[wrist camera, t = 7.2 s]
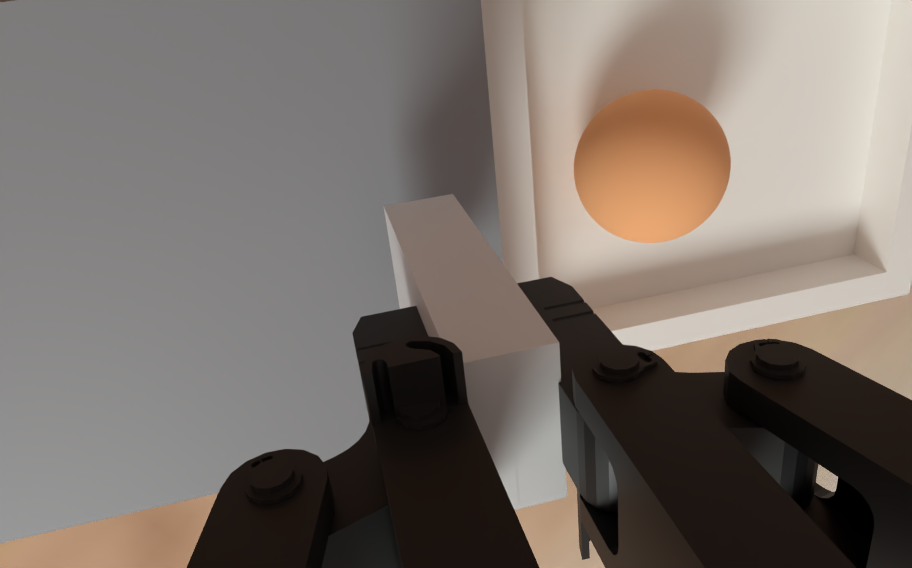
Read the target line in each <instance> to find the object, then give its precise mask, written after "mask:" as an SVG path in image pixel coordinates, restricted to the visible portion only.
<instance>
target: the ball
mask: <svg viewBox="0 0 912 568" xmlns="http://www.w3.org/2000/svg"><path fill="white" fill-rule="evenodd" d="M730 170H731V157H730V149H729V145H728V142H727V138H726V136H725V134H724V131H723V129H722V127H721V126H720V124H719V123H718V121H717V120H716V118H715V117H714V116H713V115H712V114H711V113H710V112H709V111H708V110H707V109H706V108H705V107H704V106H703V105H701V104H700V103H698V102H697V101H695V100H694V99H692V98H690V97H688V96H686V95H683V94H680V93H677V92H673V91H668V90H656V89H653V90H643V91H638V92H634V93H630V94H628V95H625V96H622V97H620V98H618V99H616V100H614V101H613V102H611V103H610V104H608V105H607V106H605V107H604V108H603V109H602V110H601V111H600V112H599V113H597V114H596V115H595V117H594V118H593V119H592V120H591V121H590V122H589V124H588V126H587V127H586V129H585V130H584V132H583V134H582V136H581V138H580V140H579V143H578V146H577V149H576V153H575V158H574V180H575V185H576V189H577V192H578V195H579V198H580V200H581V202H582V204H583V206H584V208H585V209H586V211H587V212H588V213H589V215H590V216H591V217H592V218H593V219H594V220H595V221H596V222H597V223H598V224H599V225H600V226H601V227H603V228H604V229H605V230H606V231H608V232H610V233H612V234H613V235H615V236H618V237H620V238H623V239H626V240H630V241H634V242H640V243H659V242H666V241H669V240H673V239H676V238H679V237H681V236H684V235H686V234H687V233H689V232H691V231H693V230H694V229H696V228H697V227H698V226H700V225H701V224H702V223H703V222H704V221H705V220H707V219H708V218H709V217H710V216H711V214H712V213H713V212H714V211H715V209H716V208H717V207H718V205H719V203H720V202H721V200H722V198H723V196H724V193H725V191H726V189H727V185H728V182H729V177H730Z"/></svg>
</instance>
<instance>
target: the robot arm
mask: <svg viewBox="0 0 912 568" xmlns="http://www.w3.org/2000/svg"><path fill="white" fill-rule="evenodd" d="M384 212H385V218H386V224H387V231H388V237H389V243H390V250H391V256H392V262H393V269H394V275H395V281H396V288H397V294H398V300H399V306H400V309H397V310H392V311H387V312H382V313H377V314H372V315H367V316H362V317H361V318H360V320H359V321H358V323H357V325H356V327H355V329H354V331H353V333H352V334H353V339H354V344H355V350H356V355H357V360H358V365H359V370H360V375H361V380H362V386H363V391H364V396H365V401H366V406H367V411H368V416H369V424H368V426H367V429H366V431H365V433H364V434H363V435H362V437H361V438H360V439H359V440H358V441H357V442H356V443H355V444H354V445H352V446H351V447H350V448H349V449H347V450H346V451H344V452H342V453H340V454H339V455H337V456H335V457H333V458H331V459H329V460H327V461H324V462H323V461H322V460H321V459H320V457H319V456H318V455H315V454H313V453H310V452H308V451H306V450H299V449H282V450H277V451H272V452H267V453H264V454H262V455H259V456H257V457H255V458H253V459H250V460H248V461H246V462H245V463H243V464H242V465H241V466H240V467H238V468H237V469H236V470H234V471H233V472H232V473H231V474H230V475H229V477H228V478H227V479H226V481H225V482H224V484H223V485H222V487H221V488H220V491H219V493H218V495H217V498H216V500H215V502H214V505H213V507H212V509H211V512H210V514H209V516H208V519H207V521H206V524H205V526H204V528H203V531H202V533H201V535H200V538H199V540H198V542H197V545H196V547H195V549H194V552H193V554H192V556H191V559H190V561H189V563H188V566H187V568H539V566H538V564H537V561H536V559H535V557H534V554H533V552H532V550H531V547H530V545H529V543H528V541H527V538H526V536H525V534H524V531H523V529H522V527H521V524H520V522H519V520H518V517H517V515H516V513H515V510H517V509H521V508H525V507H529V506H533V505H537V504H541V503H545V502H549V501H553V500H557V499H561V498H565V497H567V484H566V470H567V471H568V473H569V475H570V477H571V478H572V480H573V482H574V484H575V486H576V487H577V500H578V523H579V546H580V552H581V556H582V560H584V559H588V558H590V557H589V541H590V539H591V541H592V543H593V545H594V547H595V549H596V551H597V553H598V555H599V556H600V558H601V560H602V562H603V564H604V566H605V568H912V400H910V399H908V398H906V397H904V396H902V395H900V394H898V393H896V392H894V391H893V390H891V389H889V388H887V387H885V386H883V385H881V384H879V383H877V382H875V381H873V380H871V379H869V378H867V377H865V376H863V375H861V374H859V373H857V372H855V371H853V370H851V369H850V368H848V367H846V366H844V365H842V364H840V363H838V362H836V361H834V360H832V359H830V358H828V357H826V356H824V355H822V354H820V353H818V352H816V351H814V350H812V349H810V348H807V347H804V346H802V345H799V344H796V343H793V342H787V341H781V340H777V339H768V340H765V339H763V340H754V341H750V342H746V343H742V344H739V345H738V346H736V347H735V348H733V349H732V350H730V351H729V353H728V356H727V358H726V360H725V372H710V373H682V372H674V370H673V369H672V368H671V367H670V366H669V365H668V364H667V363H666V362H665V361H664V360H663V359H662V358H661V357H659V356H658V355H656V354H655V353H654V352H652V351H650V350H647V349H644V348H641V347H638V346H632V345H623V344H622V343H621V342H620V341H619V340H618V339H617V337H616V336H615V335H614V334H613V333H612V332H611V331H610V329H609V328H608V327H607V326H606V325H605V324H604V322H603V321H602V320H601V319H600V318H599V317H598V316H597V314H596V313H595V314H594V313H593V310H592V309H591V308H590V306H589V305H588V304H587V303H586V302H585V303H584V299H583V298H582V297H581V296H580V295H579V294H578V293H577V291H576V290H575V289H574V288H573V287H572V286H570V285H568V284H566V283H564V282H562V281H560V280H557V279H555V278H553V277H547V278H542V279H537V280H532V281H527V282H522V283H516V281H515V280H514V279H513V277H512V276H511V274H510V273H509V272H508V270H507V269H506V267H505V266H504V265H503V263H502V262H501V260H500V259H499V258H498V256H497V255H496V253H495V252H494V251H493V249H492V248H491V246H490V245H489V244H488V242H487V241H486V239H485V238H484V237H483V235H482V234H481V232H480V231H479V230H478V228H477V227H476V226H475V224H474V223H473V221H472V220H471V219H470V217H469V216H468V214H467V213H466V212H465V210H464V209H463V207H462V206H461V205H460V203H459V202H458V200H457V199H456V198H455V196H454V195H453V194H449V195H444V196H438V197H432V198H427V199H421V200H416V201H410V202H404V203H399V204H393V205H387V206H384ZM818 464H819V465H821V466H823V467H824V468H826V469H827V470H829V471H830V472H832V473H833V474H835V475H836V476H838V483H837V489H836V491H835V492H831V491H829V490H827V489H825V488H823V487H821V486H820V485H818V484H817V483H816V476H817V469H818Z"/></svg>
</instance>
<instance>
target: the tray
mask: <svg viewBox="0 0 912 568" xmlns="http://www.w3.org/2000/svg"><path fill="white" fill-rule="evenodd" d="M481 9H482V21H483V33H484V44H485V56H486V68H487V80H488V92H489V103H490V115H491V127H492V139H493V151H494V163H495V174H496V186H497V198H498V210H499V222H500V233H501V245H502V257H503V265H504V266H505V267H506V269H507V270H508V272H509V273H510V274H511V276H512V277H513V279H514V280H515V281H516V283H522V282H527V281H532V280H537V279H542V278H547V277H553V278H555V279H557V280H560V281H562V282H564V283H566V284H568V285H570V286H572V287H573V288H574V289H575V290H576V291H577V293H578V294H579V295H580V296H581V297H582V298H583V299H584V303H585V302H586V303H587V304H588V305H589V306H590V308H591V309H592V310H593V313H594V314H595V313H596V314H597V316H598V317H599V318H600V319H601V320H602V321H603V322H604V324H605V325H606V326H607V327H608V328H609V329H610V331H611V332H612V333H613V334H614V335H615V336H616V337H617V339H618V340H619V341H620V342H621V343H622V344H623V345H632V346H638V347H641V348H644V349H647V350H650V351H653V350H658V349H662V348H667V347H671V346H676V345H680V344H685V343H689V342H694V341H698V340H703V339H707V338H712V337H716V336H721V335H725V334H730V333H734V332H739V331H743V330H748V329H753V328H757V327H762V326H766V325H771V324H775V323H780V322H784V321H789V320H793V319H798V318H802V317H807V316H811V315H816V314H820V313H825V312H829V311H834V310H838V309H843V308H847V307H852V306H857V305H861V304H866V303H870V302H875V301H879V300H884V299H888V298H893V297H897V296H902V295H906V294H909V291H910V286H911V281H912V0H481ZM653 89H656V90H668V91H673V92H677V93H680V94H683V95H686V96H688V97H690V98H692V99H694V100H695V101H697V102H698V103H700V104H701V105H703V106H704V107H705V108H706V109H707V110H708V111H709V112H710V113H711V114H712V115H713V116H714V117H715V118H716V120H717V121H718V123H719V124H720V126H721V127H722V129H723V131H724V134H725V136H726V138H727V142H728V145H729V149H730V157H731V170H730V177H729V182H728V185H727V189H726V191H725V193H724V196H723V198H722V200H721V202H720V203H719V205H718V207H717V208H716V209H715V211H714V212H713V213H712V214H711V216H710V217H709V218H708V219H707V220H705V221H704V222H703V223H702V224H701V225H700V226H698V227H697V228H696V229H694V230H693V231H691V232H689V233H687V234H686V235H684V236H681V237H679V238H676V239H673V240H669V241H666V242H659V243H640V242H634V241H630V240H626V239H623V238H620V237H618V236H615V235H613V234H612V233H610V232H608V231H606V230H605V229H604V228H603V227H601V226H600V225H599V224H598V223H597V222H596V221H595V220H594V219H593V218H592V217H591V216H590V215H589V213H588V212H587V211H586V209H585V208H584V206H583V204H582V202H581V200H580V198H579V195H578V192H577V189H576V185H575V180H574V158H575V153H576V149H577V146H578V143H579V140H580V138H581V136H582V134H583V132H584V130H585V129H586V127H587V126H588V124H589V122H590V121H591V120H592V119H593V118H594V117H595V115H596V114H597V113H599V112H600V111H601V110H602V109H603V108H604V107H605V106H607V105H608V104H610V103H611V102H613V101H614V100H616V99H618V98H620V97H622V96H625V95H628V94H630V93H634V92H638V91H643V90H653Z"/></svg>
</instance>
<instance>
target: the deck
mask: <svg viewBox="0 0 912 568" xmlns="http://www.w3.org/2000/svg"><path fill="white" fill-rule="evenodd" d="M449 194H453V195H454V196H455V198H456V199H457V200H458V202H459V203H460V205H461V206H462V207H463V209H464V210H465V212H466V213H467V214H468V216H469V217H470V219H471V220H472V221H473V223H474V224H475V226H476V227H477V228H478V230H479V231H480V232H481V234H482V235H483V237H484V238H485V239H486V241H487V242H488V244H489V245H490V246H491V248H492V249H493V251H494V252H495V253H496V255H497V256H498V258H499V259H500V260H501V262H502V263H503V257H502V245H501V233H500V222H499V210H498V198H497V186H496V174H495V163H494V151H493V139H492V127H491V115H490V103H489V92H488V80H487V68H486V56H485V44H484V33H483V21H482V9H481V0H0V543H4V542H8V541H12V540H17V539H21V538H25V537H30V536H34V535H38V534H43V533H47V532H51V531H56V530H60V529H64V528H69V527H73V526H77V525H82V524H86V523H90V522H95V521H99V520H103V519H108V518H112V517H116V516H121V515H125V514H129V513H134V512H138V511H142V510H147V509H151V508H155V507H160V506H164V505H168V504H173V503H177V502H181V501H186V500H190V499H194V498H199V497H203V496H207V495H212V494H216V493H219V491H220V488H221V487H222V485H223V484H224V482H225V481H226V479H227V478H228V477H229V475H230V474H231V473H232V472H233V471H234V470H236V469H237V468H238V467H240V466H241V465H242V464H243V463H245V462H246V461H248V460H250V459H253V458H255V457H257V456H259V455H262V454H264V453H267V452H272V451H277V450H282V449H299V450H306V451H308V452H310V453H313V454H315V455H318V456H319V457H320V459H321V460H322V461H323V462H324V461H327V460H329V459H331V458H333V457H335V456H337V455H339V454H340V453H342V452H344V451H346V450H347V449H349V448H350V447H351V446H352V445H354V444H355V443H356V442H357V441H358V440H359V439H360V438H361V437H362V435H363V434H364V433H365V431H366V429H367V426H368V424H369V416H368V411H367V406H366V401H365V396H364V391H363V386H362V380H361V375H360V370H359V365H358V360H357V355H356V350H355V344H354V339H353V334H352V333H353V331H354V329H355V327H356V325H357V323H358V321H359V320H360V318H361V317H362V316H367V315H372V314H377V313H382V312H387V311H392V310H397V309H400V306H399V300H398V294H397V288H396V281H395V275H394V269H393V262H392V256H391V250H390V243H389V237H388V231H387V224H386V218H385V212H384V206H387V205H393V204H399V203H404V202H410V201H416V200H421V199H427V198H432V197H438V196H444V195H449Z"/></svg>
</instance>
